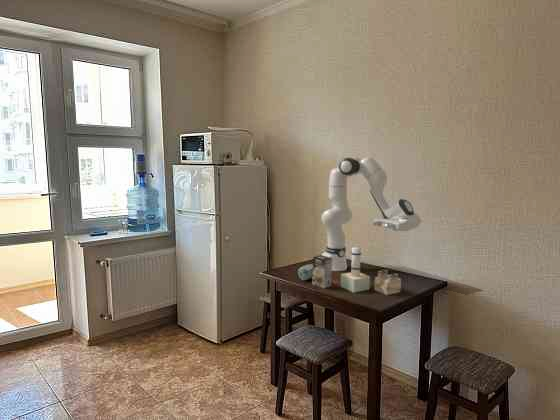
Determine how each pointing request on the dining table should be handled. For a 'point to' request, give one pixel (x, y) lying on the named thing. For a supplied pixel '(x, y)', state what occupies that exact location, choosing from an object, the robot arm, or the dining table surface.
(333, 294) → the dining table surface
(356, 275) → the white thermos bottle
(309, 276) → the spool
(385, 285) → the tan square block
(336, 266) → the robot arm
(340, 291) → the dining table surface
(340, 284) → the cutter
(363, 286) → the beige box
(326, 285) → the coffee box
